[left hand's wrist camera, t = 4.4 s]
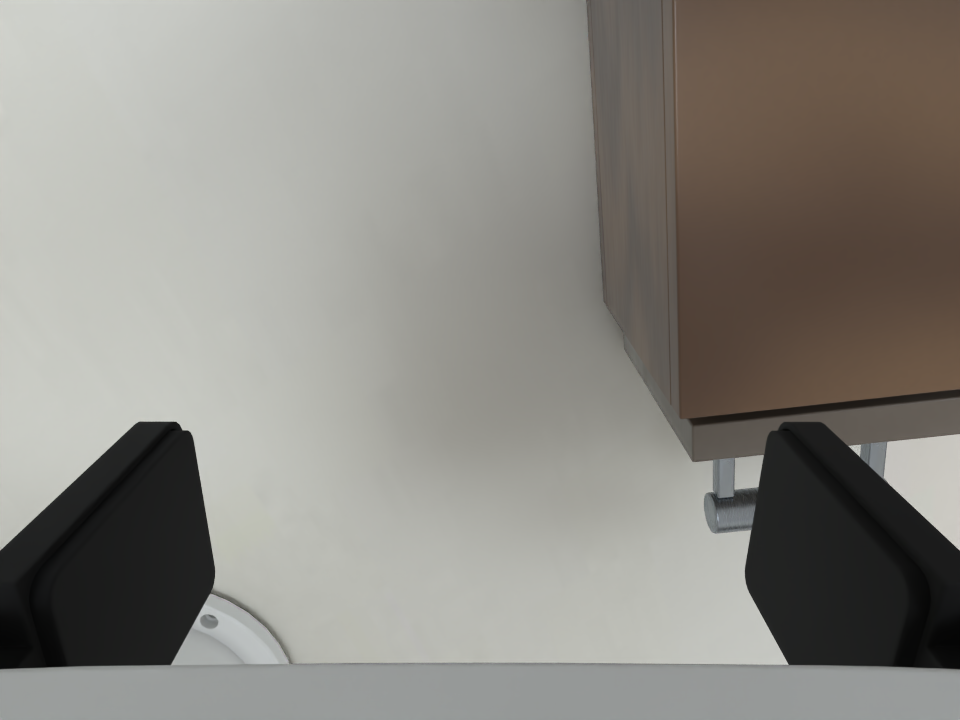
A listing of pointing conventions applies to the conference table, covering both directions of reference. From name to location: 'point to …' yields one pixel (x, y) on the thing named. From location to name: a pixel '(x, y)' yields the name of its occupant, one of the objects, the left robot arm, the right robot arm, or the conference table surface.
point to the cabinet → (780, 196)
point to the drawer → (750, 430)
